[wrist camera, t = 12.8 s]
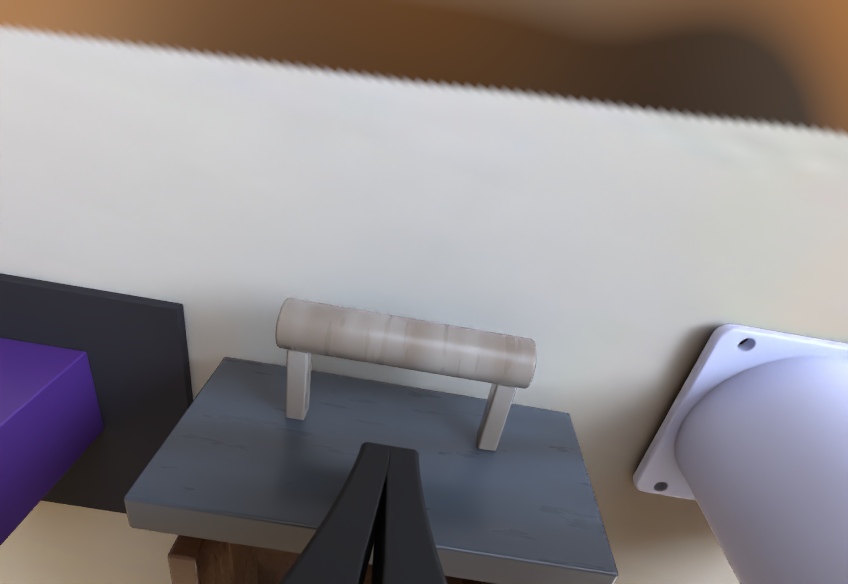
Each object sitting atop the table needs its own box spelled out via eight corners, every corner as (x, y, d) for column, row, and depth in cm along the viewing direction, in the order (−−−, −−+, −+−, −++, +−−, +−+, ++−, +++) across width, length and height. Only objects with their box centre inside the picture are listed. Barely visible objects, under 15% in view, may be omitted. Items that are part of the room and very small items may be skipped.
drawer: (218, 252, 15) (92, 368, 9) (609, 318, 15) (689, 465, 10) (236, 575, 23) (174, 729, 18) (485, 613, 23) (494, 775, 18)
